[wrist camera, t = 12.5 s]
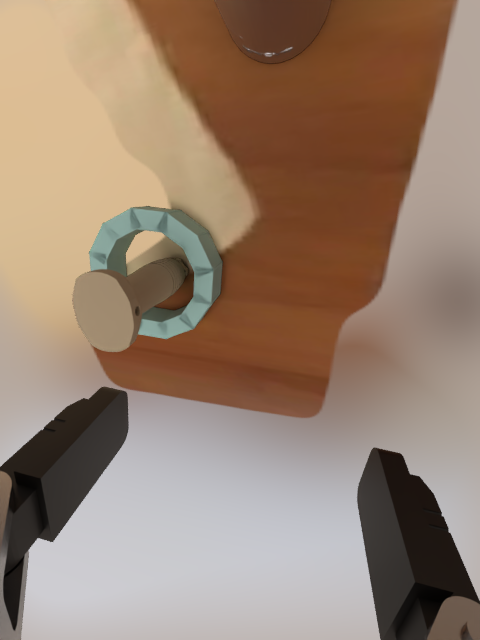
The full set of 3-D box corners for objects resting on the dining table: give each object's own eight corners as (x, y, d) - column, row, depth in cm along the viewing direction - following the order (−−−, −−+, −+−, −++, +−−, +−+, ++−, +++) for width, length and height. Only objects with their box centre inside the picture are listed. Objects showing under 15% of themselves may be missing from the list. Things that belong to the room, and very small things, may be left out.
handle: (161, 295, 39) (83, 350, 25) (154, 242, 37) (64, 271, 23) (198, 296, 38) (138, 353, 25) (193, 242, 36) (125, 272, 22)
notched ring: (106, 201, 36) (84, 201, 32) (226, 214, 34) (217, 217, 30) (113, 315, 42) (95, 327, 38) (217, 332, 40) (208, 346, 36)
